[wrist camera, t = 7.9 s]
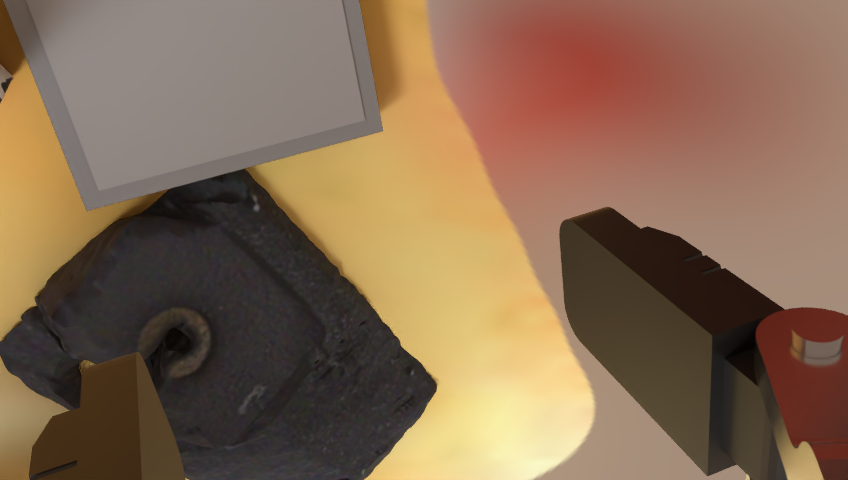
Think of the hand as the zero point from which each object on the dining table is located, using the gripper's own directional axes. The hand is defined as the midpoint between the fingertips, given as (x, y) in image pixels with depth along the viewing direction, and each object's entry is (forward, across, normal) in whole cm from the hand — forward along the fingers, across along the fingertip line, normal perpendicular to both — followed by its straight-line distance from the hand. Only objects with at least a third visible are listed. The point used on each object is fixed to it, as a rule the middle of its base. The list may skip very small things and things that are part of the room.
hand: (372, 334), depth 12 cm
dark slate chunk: (+29, +3, +19) cm, 34 cm away
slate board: (+28, 0, 0) cm, 28 cm away
